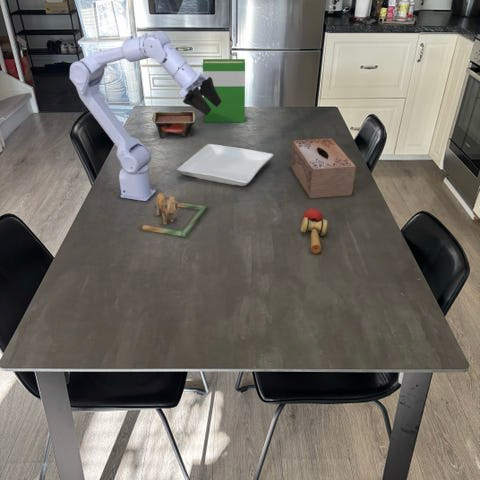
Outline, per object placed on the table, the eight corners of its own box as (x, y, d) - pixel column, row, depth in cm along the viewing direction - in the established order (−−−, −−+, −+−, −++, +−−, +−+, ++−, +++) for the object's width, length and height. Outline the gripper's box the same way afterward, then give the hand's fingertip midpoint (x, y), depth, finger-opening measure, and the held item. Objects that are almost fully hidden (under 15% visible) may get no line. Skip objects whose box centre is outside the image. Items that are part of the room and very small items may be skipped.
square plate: (176, 179, 189) (175, 168, 186) (208, 152, 208) (208, 142, 206) (247, 192, 181) (247, 181, 178) (274, 162, 200) (274, 152, 198)
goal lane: (142, 229, 160) (142, 226, 160) (167, 203, 174) (167, 200, 173) (184, 236, 157) (184, 233, 156) (206, 209, 171) (206, 206, 170)
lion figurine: (184, 224, 163) (182, 197, 157) (168, 229, 160) (166, 202, 155) (162, 206, 172) (159, 180, 167) (147, 210, 170) (144, 184, 164)
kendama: (331, 257, 151) (326, 219, 163) (330, 239, 146) (324, 201, 159) (304, 260, 152) (300, 222, 164) (302, 243, 148) (298, 205, 160)
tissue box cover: (290, 167, 197) (292, 140, 191) (328, 164, 199) (331, 138, 193) (310, 198, 177) (312, 169, 171) (351, 195, 179) (355, 166, 173)
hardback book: (204, 122, 235) (202, 63, 220) (205, 116, 241) (203, 59, 226) (244, 122, 236) (245, 63, 221) (244, 116, 241) (244, 59, 226)
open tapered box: (192, 144, 220) (195, 119, 214) (149, 137, 218) (150, 112, 213) (195, 134, 232) (197, 111, 226) (153, 128, 230) (155, 104, 225)
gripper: (176, 66, 141) (212, 106, 144) (199, 53, 151) (232, 91, 155) (162, 85, 146) (197, 124, 149) (185, 71, 156) (217, 107, 159)
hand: (214, 108), depth 152 cm, fingers open, 7 cm apart
